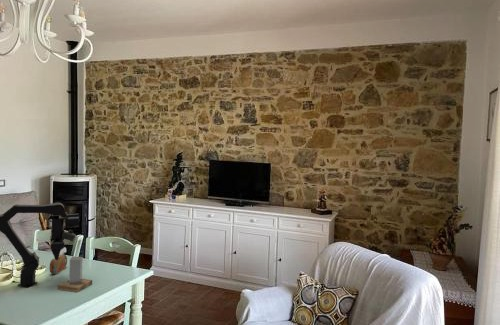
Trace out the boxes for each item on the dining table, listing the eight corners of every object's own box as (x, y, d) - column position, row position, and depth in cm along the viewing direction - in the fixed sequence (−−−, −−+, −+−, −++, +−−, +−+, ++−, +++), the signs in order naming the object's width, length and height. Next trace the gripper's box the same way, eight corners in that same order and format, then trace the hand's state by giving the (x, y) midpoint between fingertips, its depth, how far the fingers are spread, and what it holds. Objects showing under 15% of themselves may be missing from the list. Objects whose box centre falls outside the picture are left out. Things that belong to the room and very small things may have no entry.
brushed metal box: (79, 284, 193) (80, 259, 192) (68, 284, 192) (69, 260, 191) (81, 280, 198) (82, 256, 197) (70, 281, 197) (71, 257, 196)
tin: (53, 276, 208) (54, 260, 207) (48, 275, 208) (48, 260, 207) (67, 267, 223) (67, 252, 222) (62, 266, 223) (62, 252, 222)
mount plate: (77, 292, 188) (77, 288, 188) (57, 289, 190) (57, 285, 190) (92, 283, 199) (92, 280, 199) (73, 281, 202) (73, 277, 202)
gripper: (75, 230, 194) (74, 261, 194) (73, 222, 210) (72, 251, 211) (50, 232, 188) (49, 263, 189) (50, 224, 205) (49, 252, 206)
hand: (56, 257), depth 199 cm, fingers open, 9 cm apart
